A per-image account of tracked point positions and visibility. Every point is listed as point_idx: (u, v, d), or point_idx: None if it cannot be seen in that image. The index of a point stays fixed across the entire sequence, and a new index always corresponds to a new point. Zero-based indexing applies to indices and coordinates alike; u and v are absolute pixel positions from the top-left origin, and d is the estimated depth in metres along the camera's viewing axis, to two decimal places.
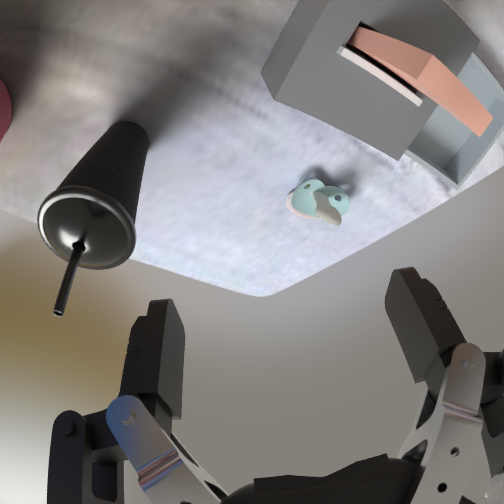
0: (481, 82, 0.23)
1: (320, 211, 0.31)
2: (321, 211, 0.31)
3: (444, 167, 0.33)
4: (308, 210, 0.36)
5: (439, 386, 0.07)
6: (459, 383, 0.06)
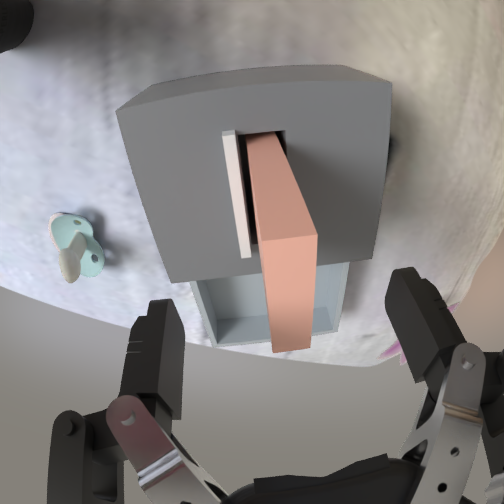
0: (326, 285, 0.33)
1: (64, 255, 0.22)
2: (64, 256, 0.22)
3: (219, 318, 0.35)
4: (61, 243, 0.26)
5: (439, 386, 0.07)
6: (459, 383, 0.06)
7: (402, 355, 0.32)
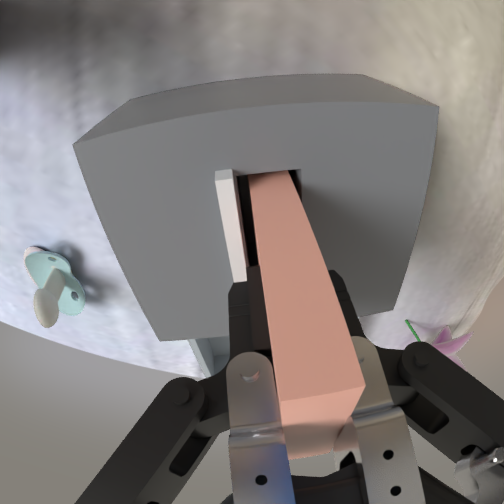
0: None
1: (38, 299, 0.19)
2: (39, 300, 0.19)
3: (216, 354, 0.31)
4: (38, 278, 0.22)
5: None
6: None
7: None
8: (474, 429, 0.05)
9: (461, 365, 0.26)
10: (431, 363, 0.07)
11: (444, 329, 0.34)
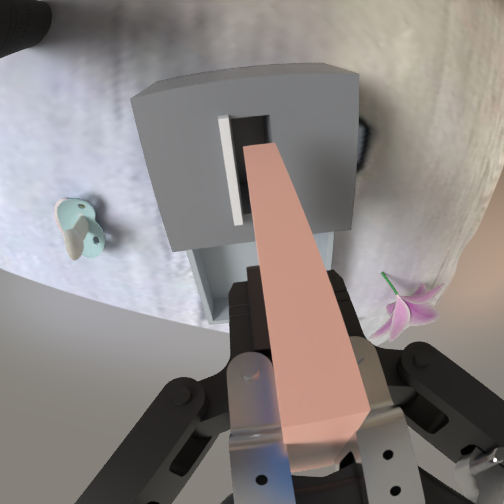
0: None
1: (69, 234, 0.25)
2: (69, 235, 0.25)
3: (215, 298, 0.38)
4: (66, 226, 0.29)
5: None
6: None
7: (391, 333, 0.35)
8: (474, 429, 0.05)
9: (434, 310, 0.32)
10: (431, 363, 0.07)
11: (420, 286, 0.41)
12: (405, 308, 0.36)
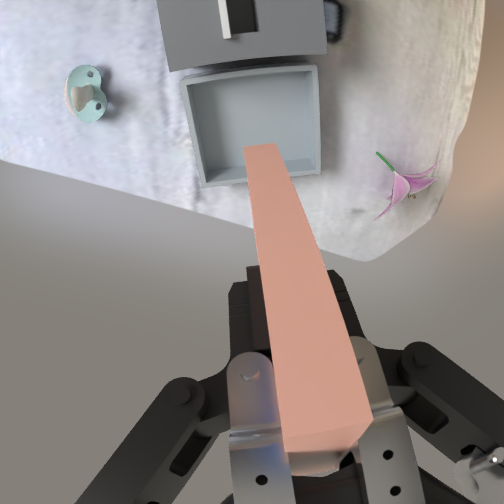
0: (306, 131, 0.35)
1: (76, 87, 0.25)
2: (76, 87, 0.25)
3: (209, 168, 0.37)
4: None
5: None
6: None
7: (393, 204, 0.34)
8: (474, 429, 0.05)
9: (432, 178, 0.31)
10: (431, 363, 0.07)
11: None
12: (404, 181, 0.35)
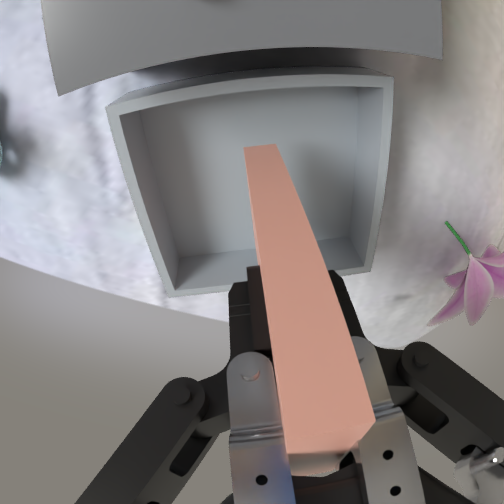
0: (350, 194, 0.20)
1: None
2: None
3: (182, 254, 0.22)
4: None
5: None
6: None
7: (469, 312, 0.20)
8: (474, 429, 0.05)
9: None
10: (431, 363, 0.07)
11: (488, 248, 0.25)
12: (484, 273, 0.20)
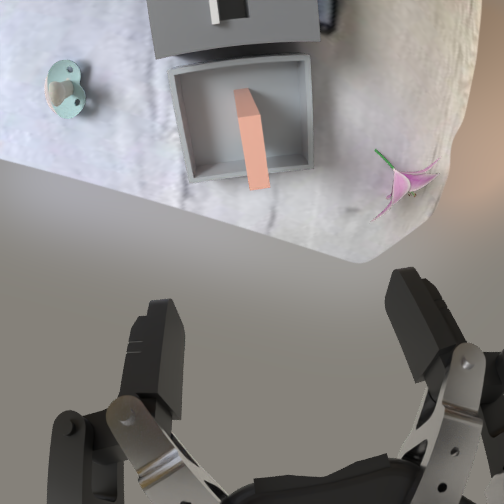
0: (299, 125, 0.33)
1: (54, 82, 0.23)
2: (54, 82, 0.23)
3: (197, 164, 0.36)
4: None
5: (439, 386, 0.07)
6: (459, 383, 0.06)
7: (393, 202, 0.33)
8: None
9: (434, 174, 0.30)
10: None
11: None
12: (404, 179, 0.33)
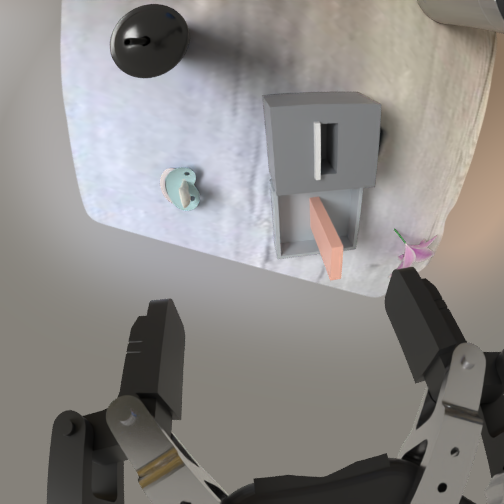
0: (347, 218, 0.52)
1: (183, 190, 0.42)
2: (183, 190, 0.42)
3: (279, 242, 0.54)
4: (169, 188, 0.45)
5: (439, 386, 0.07)
6: (459, 383, 0.06)
7: None
8: None
9: (431, 251, 0.49)
10: None
11: (422, 241, 0.57)
12: (411, 252, 0.52)
